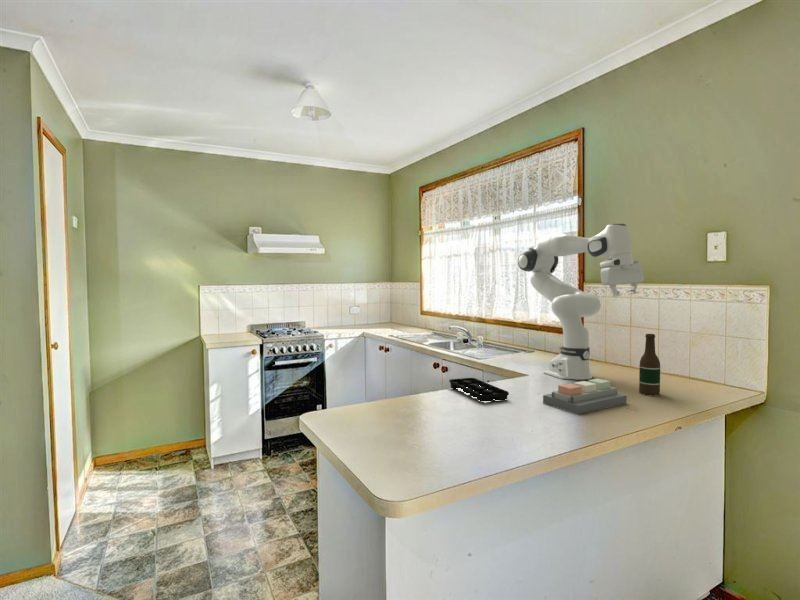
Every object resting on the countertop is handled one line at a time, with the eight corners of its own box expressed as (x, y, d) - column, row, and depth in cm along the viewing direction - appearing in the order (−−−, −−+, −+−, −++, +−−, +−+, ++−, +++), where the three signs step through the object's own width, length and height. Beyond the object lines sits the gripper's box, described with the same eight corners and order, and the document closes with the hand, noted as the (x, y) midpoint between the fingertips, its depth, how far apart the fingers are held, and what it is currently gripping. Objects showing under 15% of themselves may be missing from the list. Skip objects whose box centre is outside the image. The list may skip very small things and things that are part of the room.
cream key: (573, 390, 169) (573, 382, 169) (583, 388, 171) (583, 380, 171) (585, 393, 164) (585, 385, 164) (596, 391, 167) (596, 383, 166)
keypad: (543, 403, 169) (543, 389, 168) (590, 393, 181) (590, 381, 181) (578, 414, 155) (578, 399, 154) (626, 403, 167) (626, 390, 167)
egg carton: (469, 384, 201) (469, 376, 201) (520, 399, 176) (520, 389, 176) (437, 390, 192) (437, 381, 192) (487, 406, 167) (487, 396, 167)
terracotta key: (558, 393, 165) (558, 385, 165) (568, 391, 168) (568, 383, 167) (570, 396, 160) (570, 388, 160) (581, 394, 163) (581, 386, 163)
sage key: (587, 387, 173) (587, 380, 172) (597, 386, 175) (597, 378, 175) (600, 391, 168) (600, 383, 168) (610, 389, 170) (610, 381, 170)
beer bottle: (655, 391, 184) (656, 332, 182) (664, 396, 176) (665, 335, 175) (635, 391, 184) (635, 332, 183) (643, 396, 177) (644, 335, 175)
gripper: (633, 261, 193) (636, 293, 193) (596, 264, 186) (600, 297, 186) (645, 259, 188) (649, 292, 187) (608, 261, 180) (612, 296, 180)
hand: (624, 294), depth 186 cm, fingers open, 8 cm apart
